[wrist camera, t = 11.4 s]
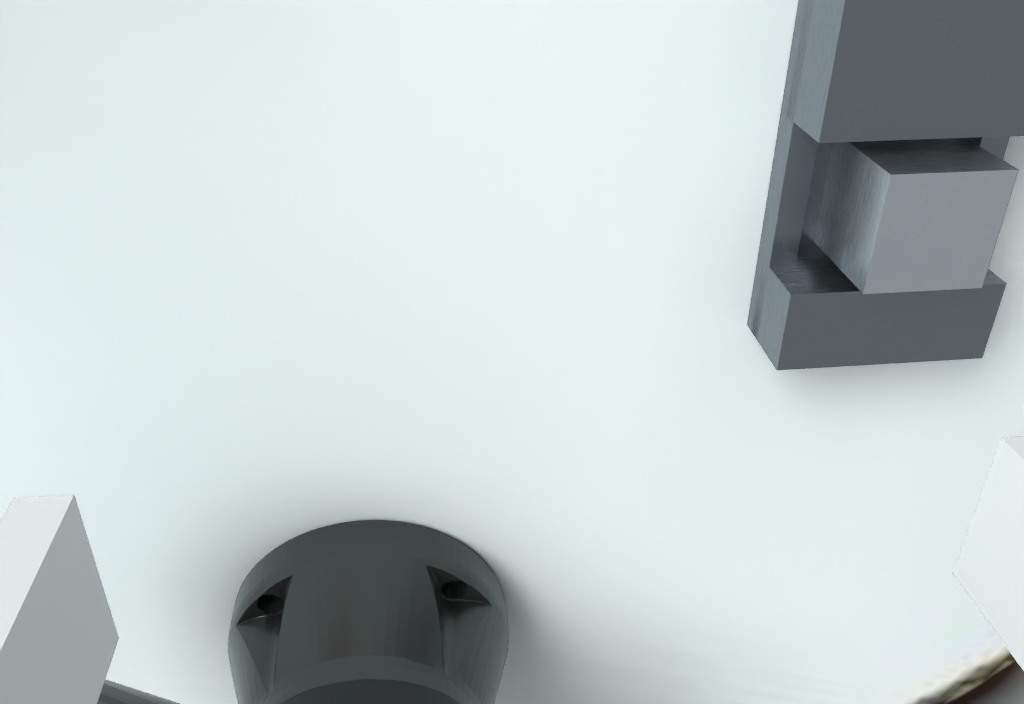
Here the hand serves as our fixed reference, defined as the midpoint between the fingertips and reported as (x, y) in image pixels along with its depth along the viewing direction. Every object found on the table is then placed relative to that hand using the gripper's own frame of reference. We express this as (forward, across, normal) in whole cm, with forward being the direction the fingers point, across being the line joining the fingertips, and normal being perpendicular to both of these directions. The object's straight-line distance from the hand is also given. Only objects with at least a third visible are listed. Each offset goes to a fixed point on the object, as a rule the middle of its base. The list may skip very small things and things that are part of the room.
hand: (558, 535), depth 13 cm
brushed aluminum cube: (+25, -18, +5) cm, 32 cm away
